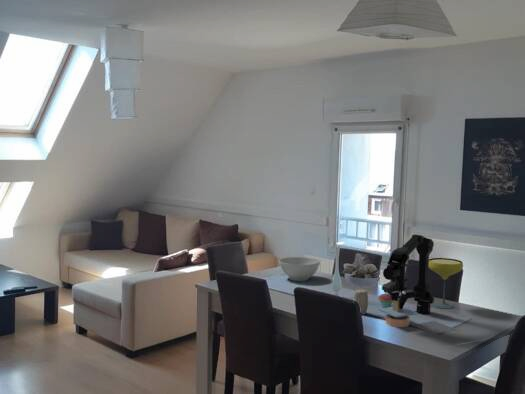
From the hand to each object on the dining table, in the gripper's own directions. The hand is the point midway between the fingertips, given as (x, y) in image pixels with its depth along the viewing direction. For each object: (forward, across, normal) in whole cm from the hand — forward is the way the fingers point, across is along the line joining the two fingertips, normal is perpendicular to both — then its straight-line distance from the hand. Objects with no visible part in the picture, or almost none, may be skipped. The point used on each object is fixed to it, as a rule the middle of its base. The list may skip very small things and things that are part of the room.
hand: (398, 308), depth 267 cm
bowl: (+8, 0, 0) cm, 8 cm away
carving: (+8, -23, -5) cm, 25 cm away
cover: (+2, 0, 0) cm, 2 cm away
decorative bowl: (+8, -103, +5) cm, 103 cm away
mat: (+8, +12, +12) cm, 19 cm away
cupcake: (+8, -27, +15) cm, 32 cm away
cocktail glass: (+8, -15, +45) cm, 48 cm away
